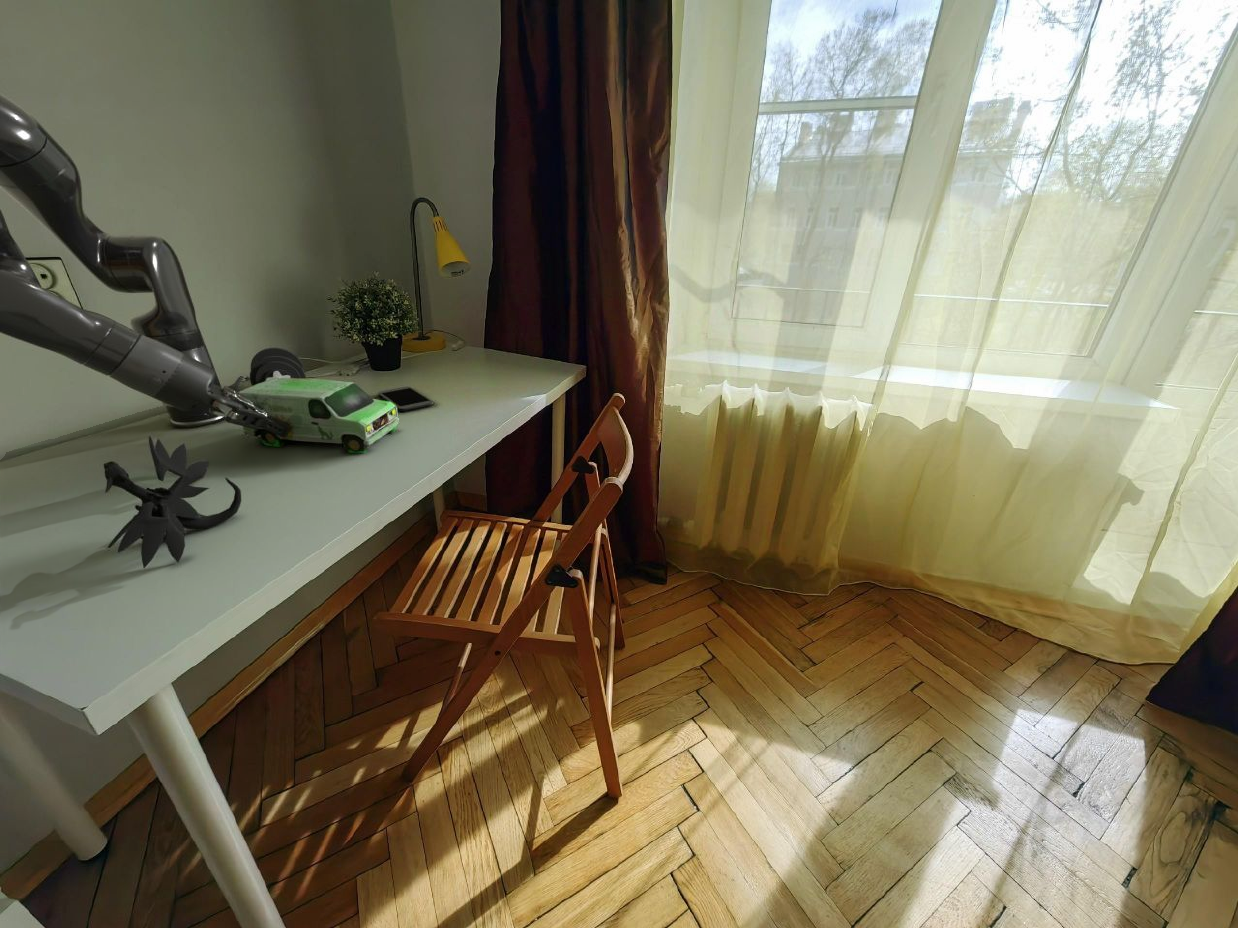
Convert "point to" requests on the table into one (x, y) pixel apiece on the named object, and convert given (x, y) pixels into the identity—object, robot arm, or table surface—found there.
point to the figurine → (165, 504)
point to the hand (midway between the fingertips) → (287, 431)
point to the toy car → (322, 412)
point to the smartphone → (406, 398)
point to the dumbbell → (275, 365)
